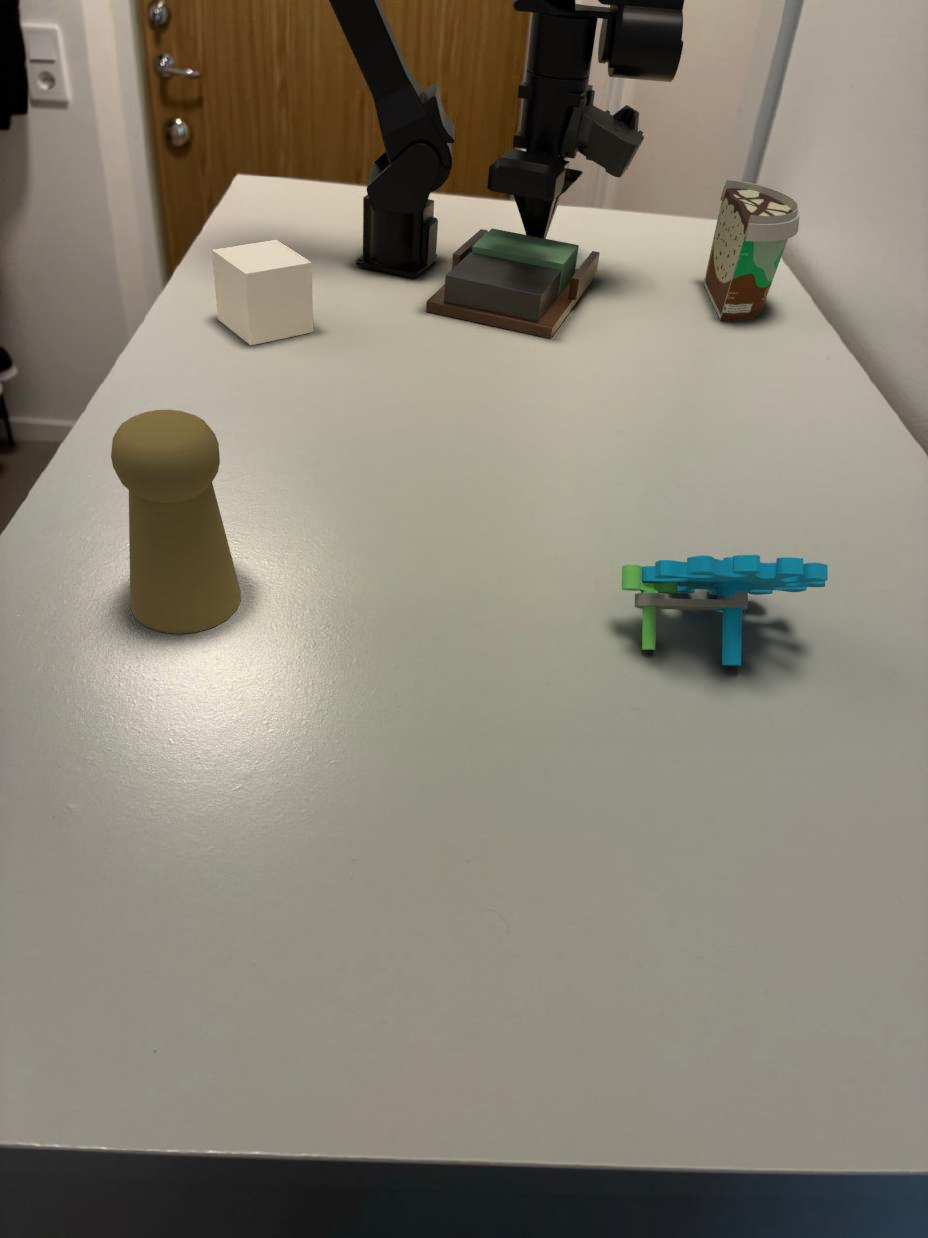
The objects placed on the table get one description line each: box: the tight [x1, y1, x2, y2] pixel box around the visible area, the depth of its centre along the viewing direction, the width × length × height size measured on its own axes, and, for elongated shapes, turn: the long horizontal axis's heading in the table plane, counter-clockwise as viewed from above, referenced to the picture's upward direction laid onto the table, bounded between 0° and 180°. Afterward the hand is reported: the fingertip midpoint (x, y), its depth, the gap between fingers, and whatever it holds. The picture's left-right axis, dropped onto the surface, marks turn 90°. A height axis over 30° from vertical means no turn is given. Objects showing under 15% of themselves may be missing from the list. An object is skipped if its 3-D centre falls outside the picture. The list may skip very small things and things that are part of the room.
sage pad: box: [472, 227, 580, 295], centre depth 92 cm, size 6×9×3 cm, turn 71°
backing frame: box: [425, 228, 601, 339], centre depth 91 cm, size 16×13×4 cm
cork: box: [110, 409, 242, 635], centre depth 50 cm, size 6×6×11 cm
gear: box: [621, 554, 829, 667], centre depth 52 cm, size 11×6×10 cm
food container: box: [703, 179, 800, 322], centre depth 92 cm, size 12×6×10 cm, turn 179°
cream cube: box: [211, 239, 314, 346], centre depth 80 cm, size 6×6×6 cm
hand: (536, 248), depth 95 cm, fingers closed
